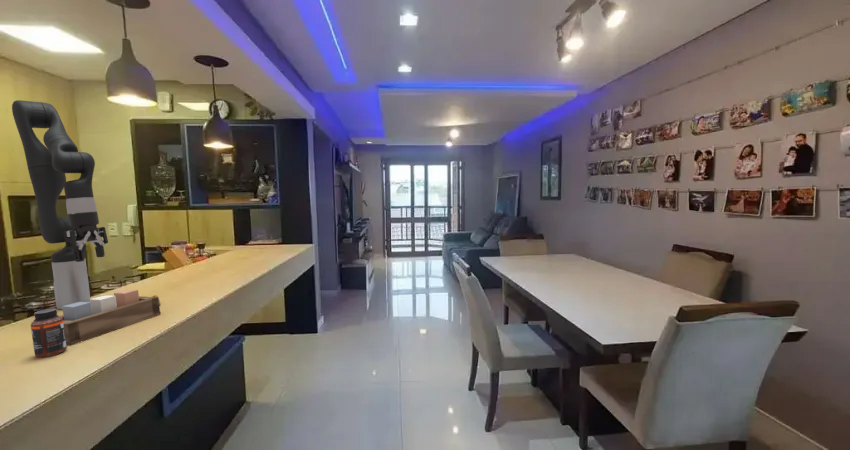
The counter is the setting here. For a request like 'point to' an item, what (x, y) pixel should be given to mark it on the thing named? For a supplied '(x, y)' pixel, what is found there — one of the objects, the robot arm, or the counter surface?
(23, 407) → the counter surface
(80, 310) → the slate key
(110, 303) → the white block
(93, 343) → the counter surface
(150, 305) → the brown wooden tray
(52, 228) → the robot arm
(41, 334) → the supplement bottle
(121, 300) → the pink block
